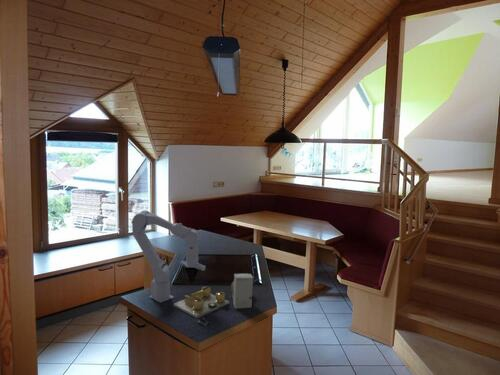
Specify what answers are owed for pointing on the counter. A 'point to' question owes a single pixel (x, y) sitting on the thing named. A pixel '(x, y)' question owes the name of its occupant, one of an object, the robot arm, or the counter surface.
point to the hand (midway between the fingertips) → (192, 281)
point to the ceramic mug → (232, 289)
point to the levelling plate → (208, 305)
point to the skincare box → (243, 290)
